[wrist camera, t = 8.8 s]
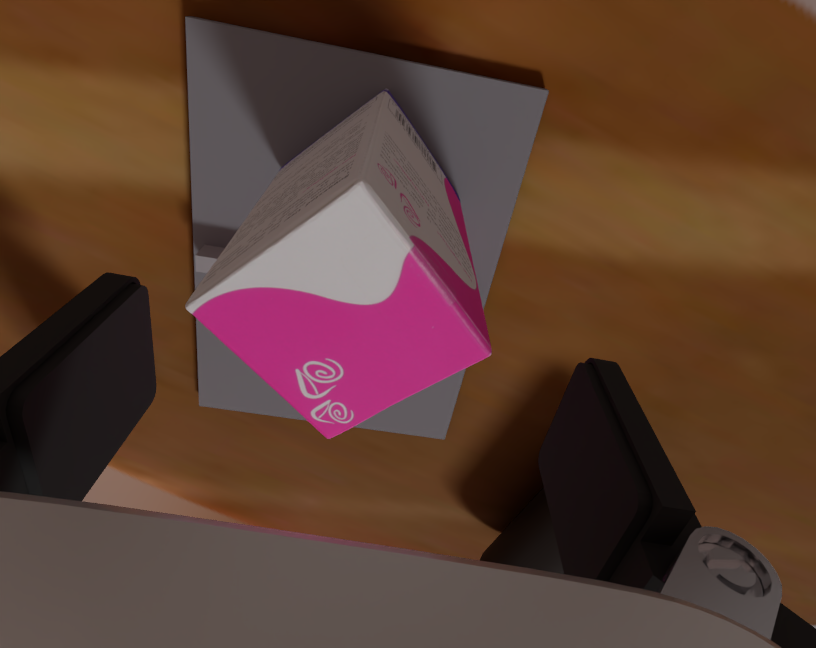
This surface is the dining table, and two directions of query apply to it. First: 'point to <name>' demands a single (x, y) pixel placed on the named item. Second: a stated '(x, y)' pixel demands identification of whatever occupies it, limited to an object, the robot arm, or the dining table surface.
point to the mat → (304, 124)
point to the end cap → (528, 540)
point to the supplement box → (350, 275)
